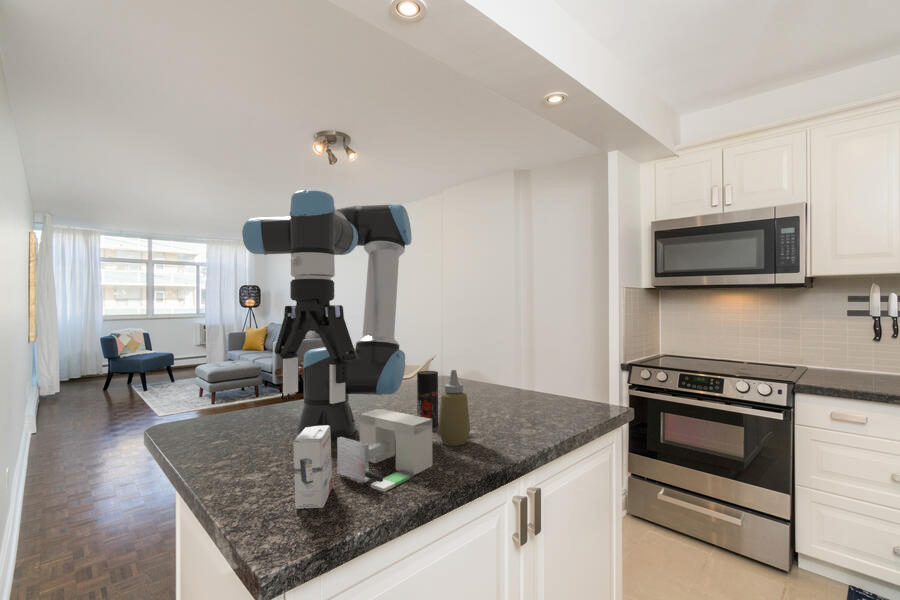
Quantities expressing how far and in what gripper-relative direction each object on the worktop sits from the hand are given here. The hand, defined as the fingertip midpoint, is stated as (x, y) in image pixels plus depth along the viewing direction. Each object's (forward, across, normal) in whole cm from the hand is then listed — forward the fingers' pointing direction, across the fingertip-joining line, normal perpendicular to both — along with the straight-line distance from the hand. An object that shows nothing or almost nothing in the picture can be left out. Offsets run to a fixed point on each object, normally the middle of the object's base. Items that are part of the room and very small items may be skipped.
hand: (312, 397), depth 77 cm
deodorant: (+18, -12, +47) cm, 52 cm away
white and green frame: (+18, 0, +17) cm, 25 cm away
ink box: (+18, 0, 0) cm, 18 cm away
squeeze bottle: (+18, +3, +39) cm, 43 cm away
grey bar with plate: (+17, +2, +14) cm, 22 cm away
